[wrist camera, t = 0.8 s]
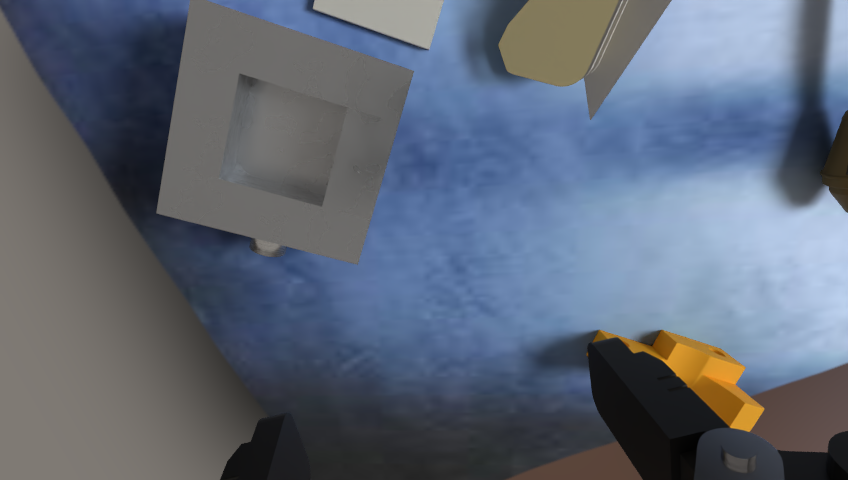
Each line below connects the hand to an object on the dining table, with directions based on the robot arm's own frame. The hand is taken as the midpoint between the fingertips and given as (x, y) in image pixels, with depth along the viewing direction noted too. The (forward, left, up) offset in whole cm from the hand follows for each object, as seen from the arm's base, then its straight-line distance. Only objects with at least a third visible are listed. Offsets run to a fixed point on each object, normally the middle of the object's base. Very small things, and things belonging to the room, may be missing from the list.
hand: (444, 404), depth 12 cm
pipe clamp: (+7, +26, -25) cm, 37 cm away
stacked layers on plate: (-15, +9, -25) cm, 30 cm away
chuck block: (-3, -8, -24) cm, 26 cm away
